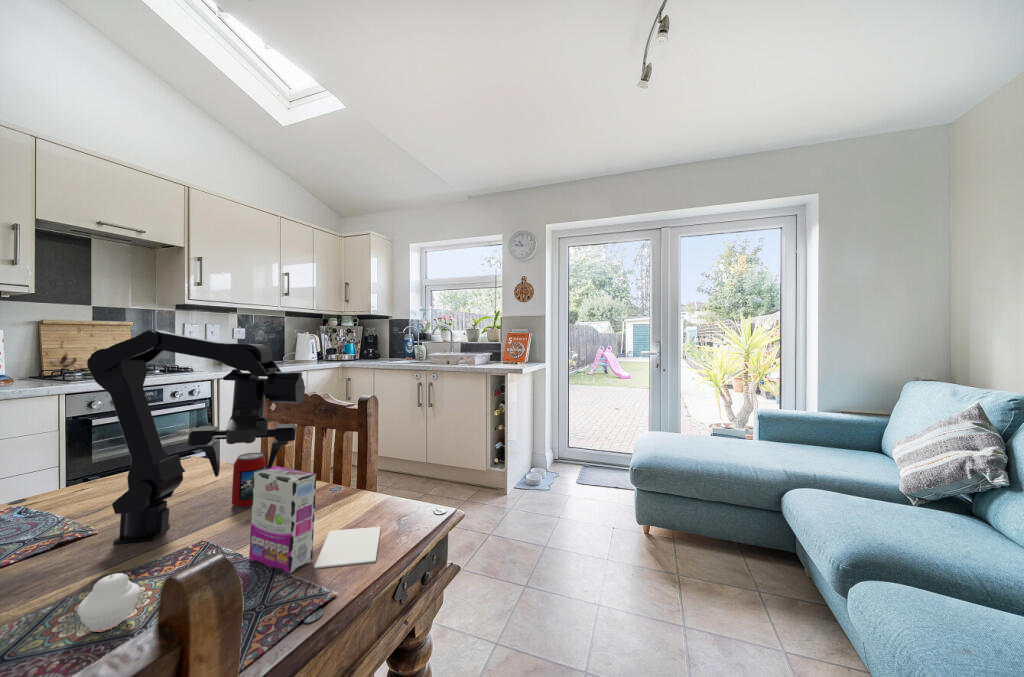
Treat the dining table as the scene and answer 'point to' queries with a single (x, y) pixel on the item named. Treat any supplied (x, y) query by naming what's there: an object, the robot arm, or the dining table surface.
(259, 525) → the candy bar box
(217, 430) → the robot arm
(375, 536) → the mat
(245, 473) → the beverage can
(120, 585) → the white lumpy blob
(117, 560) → the dining table surface
